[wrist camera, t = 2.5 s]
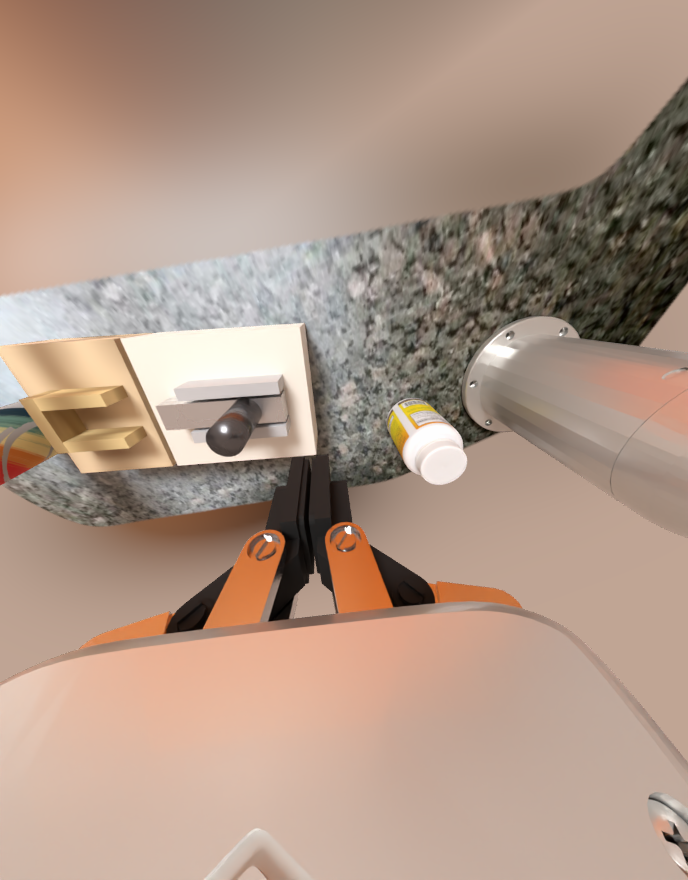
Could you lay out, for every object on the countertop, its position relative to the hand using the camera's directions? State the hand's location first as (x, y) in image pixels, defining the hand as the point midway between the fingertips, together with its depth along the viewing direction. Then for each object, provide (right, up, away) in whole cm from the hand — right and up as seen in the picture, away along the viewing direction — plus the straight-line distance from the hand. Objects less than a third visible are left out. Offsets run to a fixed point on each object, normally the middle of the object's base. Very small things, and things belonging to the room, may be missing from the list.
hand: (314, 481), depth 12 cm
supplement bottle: (+9, +5, +18) cm, 21 cm away
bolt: (-9, +5, +10) cm, 14 cm away
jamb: (-21, +7, +15) cm, 26 cm away
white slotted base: (-9, +8, +15) cm, 19 cm away
